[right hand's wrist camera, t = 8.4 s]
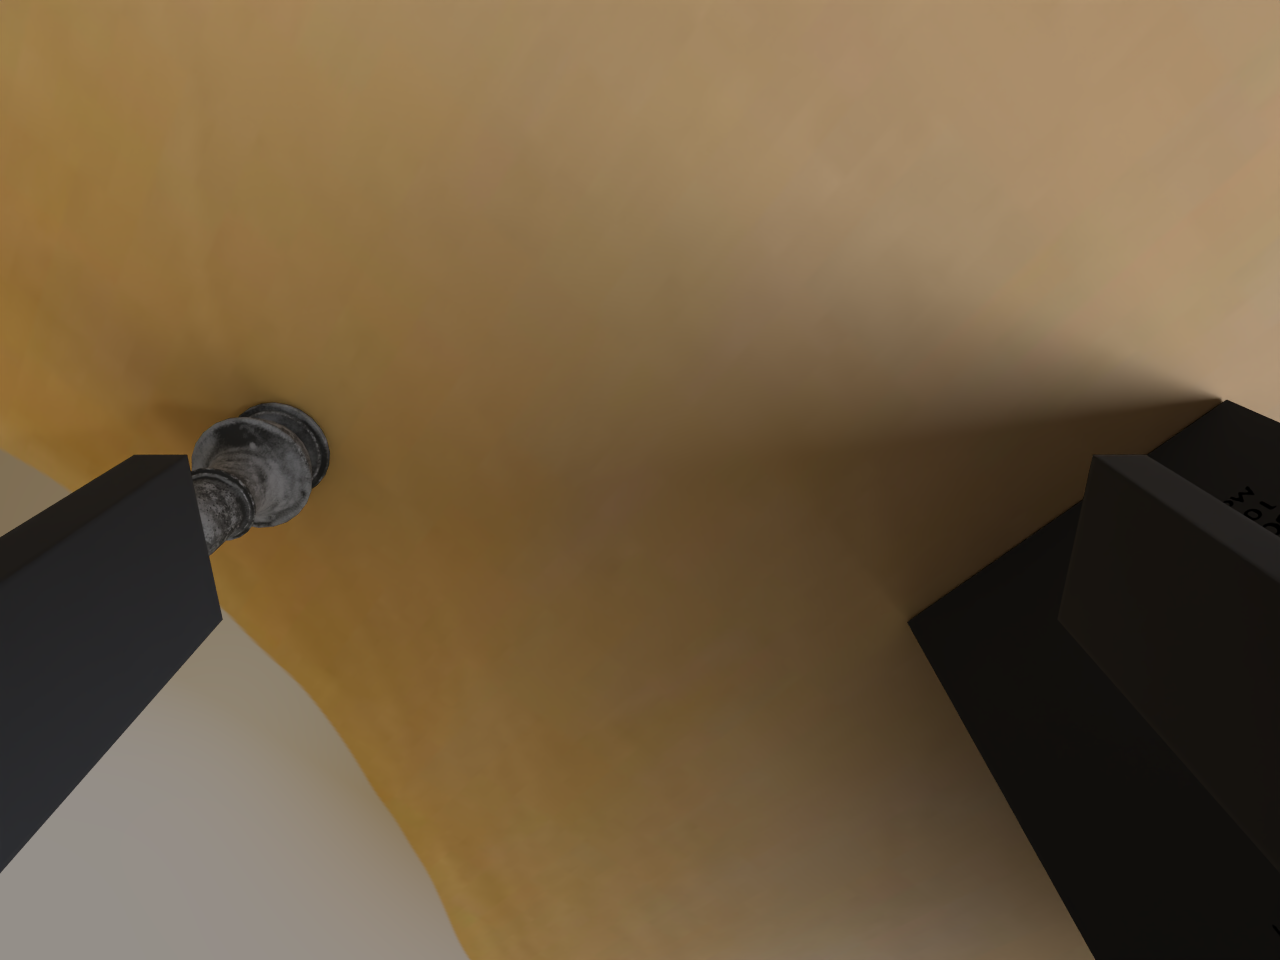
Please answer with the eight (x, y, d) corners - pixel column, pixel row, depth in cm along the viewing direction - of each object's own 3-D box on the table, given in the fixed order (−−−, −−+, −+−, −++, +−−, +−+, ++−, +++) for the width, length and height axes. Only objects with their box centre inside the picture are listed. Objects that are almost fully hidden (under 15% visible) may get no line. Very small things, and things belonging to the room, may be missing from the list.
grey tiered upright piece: (288, 520, 46) (177, 639, 35) (201, 446, 45) (56, 546, 34) (358, 453, 45) (265, 555, 34) (271, 374, 43) (143, 454, 32)
